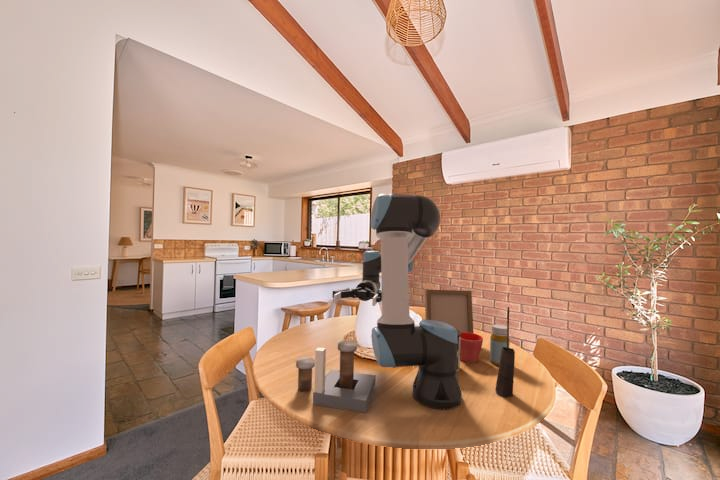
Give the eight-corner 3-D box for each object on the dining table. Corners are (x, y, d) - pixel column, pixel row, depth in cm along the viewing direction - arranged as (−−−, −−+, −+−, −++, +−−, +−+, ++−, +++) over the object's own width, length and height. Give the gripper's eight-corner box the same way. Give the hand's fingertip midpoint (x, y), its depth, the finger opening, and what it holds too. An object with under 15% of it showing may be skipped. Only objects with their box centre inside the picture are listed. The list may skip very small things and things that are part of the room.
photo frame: (473, 346, 140) (475, 293, 139) (427, 344, 140) (428, 291, 140) (464, 335, 155) (465, 287, 154) (422, 334, 155) (423, 286, 155)
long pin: (359, 395, 93) (360, 344, 93) (344, 401, 89) (346, 349, 89) (347, 387, 98) (348, 339, 98) (332, 393, 94) (334, 343, 94)
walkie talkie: (521, 406, 89) (523, 313, 89) (487, 396, 94) (489, 309, 94) (523, 393, 97) (525, 308, 97) (491, 385, 102) (494, 304, 102)
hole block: (375, 385, 100) (376, 338, 99) (365, 412, 84) (367, 356, 84) (330, 379, 103) (331, 333, 103) (312, 404, 88) (314, 350, 87)
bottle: (489, 364, 119) (490, 327, 119) (490, 358, 125) (491, 323, 125) (508, 368, 116) (509, 330, 116) (508, 361, 122) (509, 325, 122)
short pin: (317, 389, 97) (318, 361, 96) (301, 395, 92) (302, 366, 92) (307, 382, 101) (308, 355, 101) (292, 387, 97) (292, 360, 97)
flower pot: (488, 362, 121) (489, 338, 121) (467, 366, 117) (467, 341, 117) (470, 352, 131) (470, 330, 131) (449, 355, 127) (450, 333, 127)
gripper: (396, 301, 119) (390, 314, 98) (336, 297, 124) (318, 308, 103) (397, 282, 118) (390, 291, 98) (337, 279, 124) (319, 287, 103)
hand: (353, 300), depth 100 cm, fingers open, 13 cm apart
